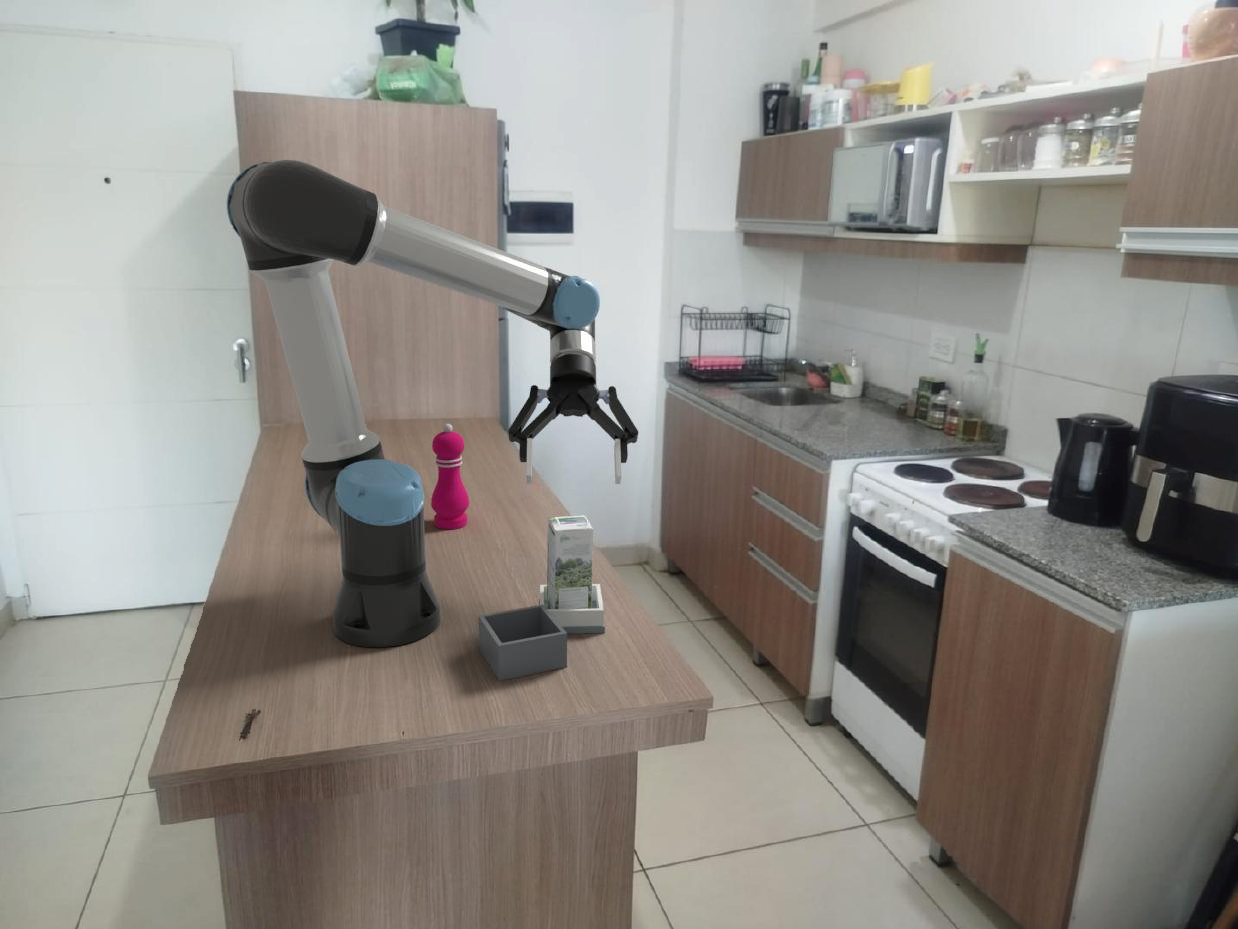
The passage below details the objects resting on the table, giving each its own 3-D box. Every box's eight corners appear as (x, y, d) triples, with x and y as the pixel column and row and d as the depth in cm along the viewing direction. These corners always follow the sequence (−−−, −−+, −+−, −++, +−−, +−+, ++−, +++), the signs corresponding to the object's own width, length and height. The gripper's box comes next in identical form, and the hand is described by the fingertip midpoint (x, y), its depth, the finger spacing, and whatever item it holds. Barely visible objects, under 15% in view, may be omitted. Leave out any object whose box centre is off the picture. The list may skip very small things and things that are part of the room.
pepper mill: (461, 532, 163) (458, 429, 158) (425, 528, 164) (421, 426, 159) (475, 519, 170) (472, 420, 164) (440, 516, 171) (437, 418, 166)
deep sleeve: (499, 680, 112) (498, 646, 110) (479, 648, 120) (478, 615, 119) (566, 666, 116) (567, 633, 114) (542, 636, 124) (542, 604, 122)
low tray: (604, 632, 125) (605, 610, 124) (538, 634, 124) (538, 611, 123) (600, 604, 134) (600, 583, 133) (538, 605, 134) (538, 584, 133)
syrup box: (583, 601, 133) (584, 513, 129) (592, 618, 127) (593, 526, 123) (546, 605, 131) (546, 515, 127) (554, 622, 126) (554, 529, 122)
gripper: (646, 379, 146) (652, 491, 136) (497, 377, 144) (492, 490, 134) (650, 352, 139) (657, 468, 129) (495, 350, 137) (489, 467, 127)
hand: (573, 480), depth 131 cm, fingers open, 13 cm apart
